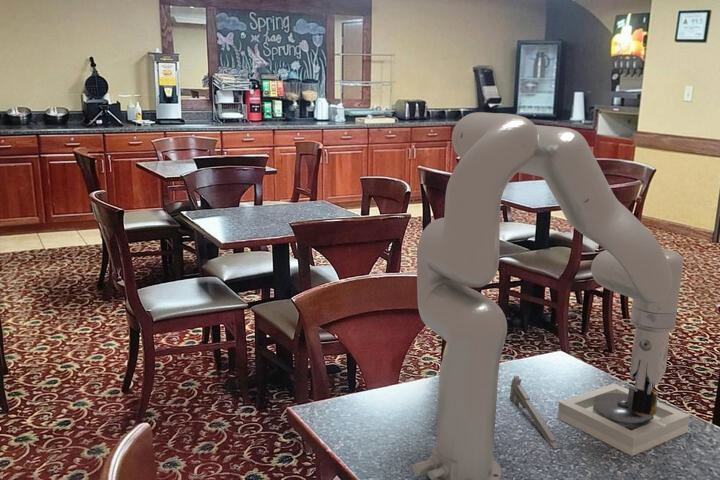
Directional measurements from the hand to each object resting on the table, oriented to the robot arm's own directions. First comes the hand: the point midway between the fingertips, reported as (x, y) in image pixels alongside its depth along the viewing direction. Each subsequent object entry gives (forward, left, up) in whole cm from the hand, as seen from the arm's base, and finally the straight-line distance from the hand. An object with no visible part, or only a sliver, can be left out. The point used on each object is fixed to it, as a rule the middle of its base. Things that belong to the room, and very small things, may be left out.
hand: (641, 410), depth 129 cm
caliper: (-13, +15, -6) cm, 20 cm away
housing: (+1, +5, -5) cm, 7 cm away
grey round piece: (+1, +5, -4) cm, 6 cm away
